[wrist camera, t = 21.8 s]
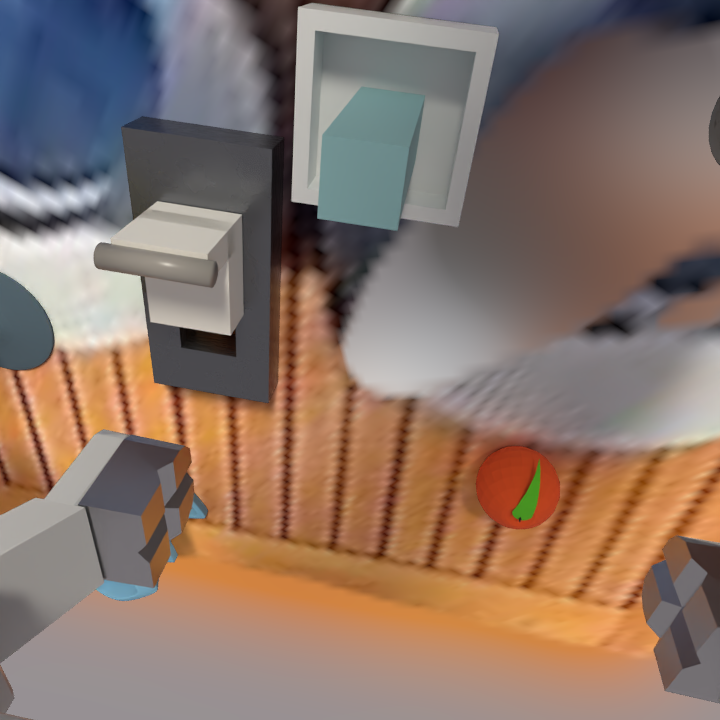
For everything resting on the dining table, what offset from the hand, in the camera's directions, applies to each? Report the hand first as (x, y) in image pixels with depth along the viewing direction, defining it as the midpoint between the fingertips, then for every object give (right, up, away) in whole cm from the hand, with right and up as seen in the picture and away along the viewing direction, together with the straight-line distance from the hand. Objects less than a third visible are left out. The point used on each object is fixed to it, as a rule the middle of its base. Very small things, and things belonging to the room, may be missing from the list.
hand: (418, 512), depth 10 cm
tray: (+1, +18, +28) cm, 33 cm away
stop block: (+1, +18, +27) cm, 33 cm away
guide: (-12, +10, +36) cm, 39 cm away
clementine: (+13, -6, +43) cm, 45 cm away
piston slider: (-12, +10, +32) cm, 36 cm away
